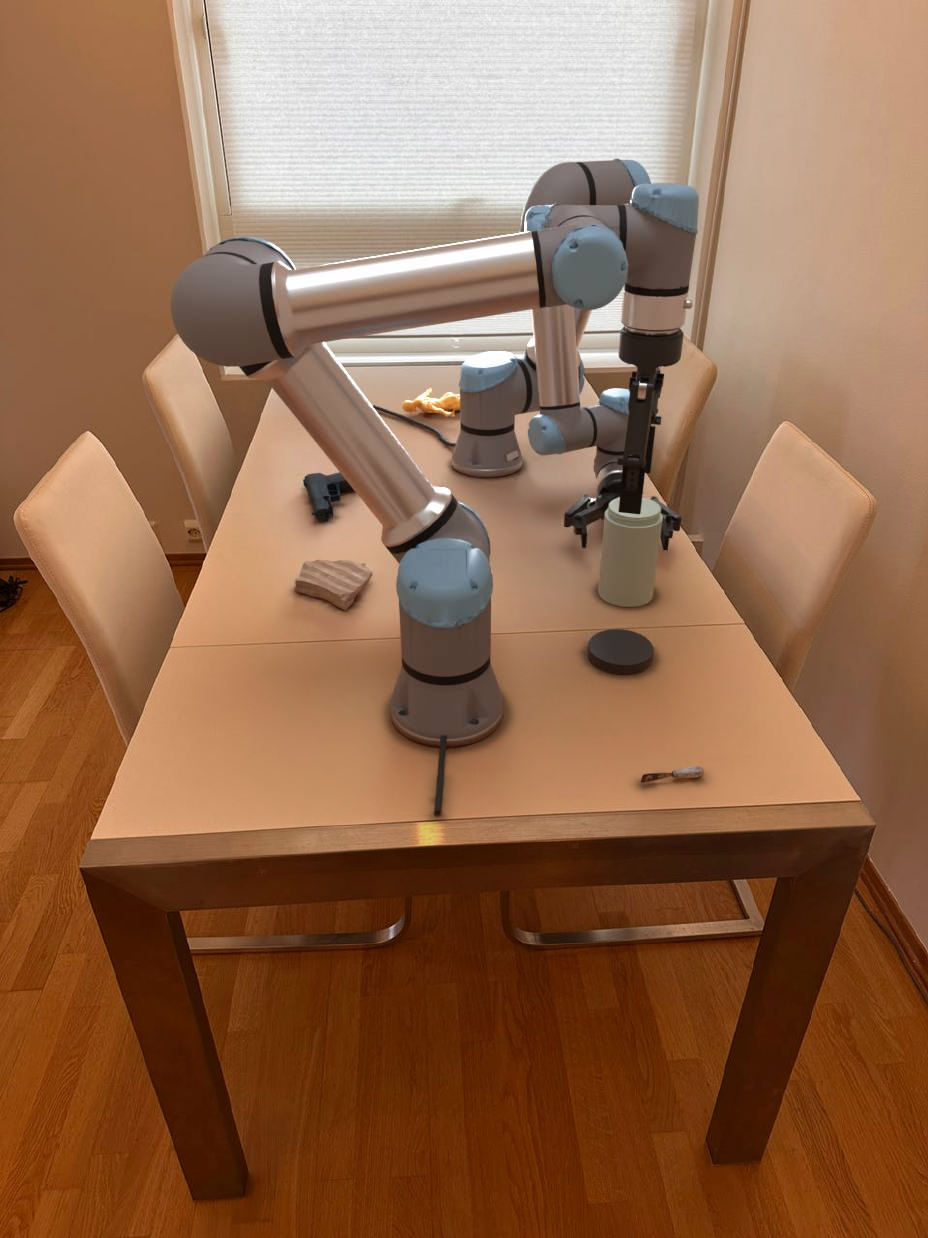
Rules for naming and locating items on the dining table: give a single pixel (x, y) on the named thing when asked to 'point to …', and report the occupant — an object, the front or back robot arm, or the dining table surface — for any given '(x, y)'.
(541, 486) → the dining table surface
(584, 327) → the back robot arm
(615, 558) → the jar
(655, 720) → the dining table surface
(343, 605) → the stone
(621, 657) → the lid
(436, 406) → the human figure
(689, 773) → the putty knife
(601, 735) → the dining table surface
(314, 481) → the handgun
